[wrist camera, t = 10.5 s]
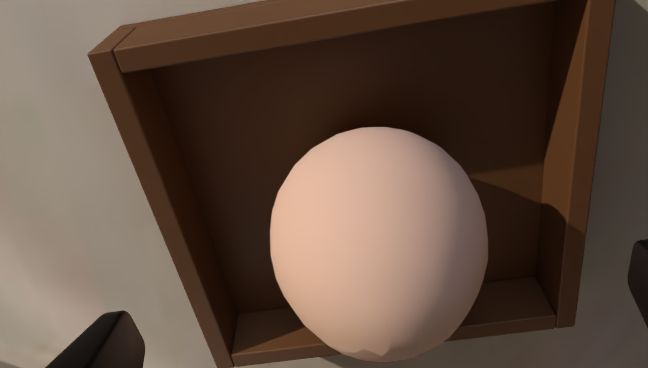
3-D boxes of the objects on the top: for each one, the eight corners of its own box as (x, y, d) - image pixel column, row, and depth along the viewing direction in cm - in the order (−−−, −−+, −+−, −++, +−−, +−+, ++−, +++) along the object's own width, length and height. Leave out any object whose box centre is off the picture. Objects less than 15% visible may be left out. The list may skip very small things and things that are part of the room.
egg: (481, 205, 22) (560, 373, 15) (328, 268, 23) (334, 445, 16) (415, 57, 18) (476, 183, 11) (242, 143, 20) (202, 299, 13)
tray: (575, -55, 17) (622, -39, 14) (547, 277, 25) (574, 326, 22) (119, 25, 18) (85, 53, 16) (227, 317, 26) (217, 369, 23)
